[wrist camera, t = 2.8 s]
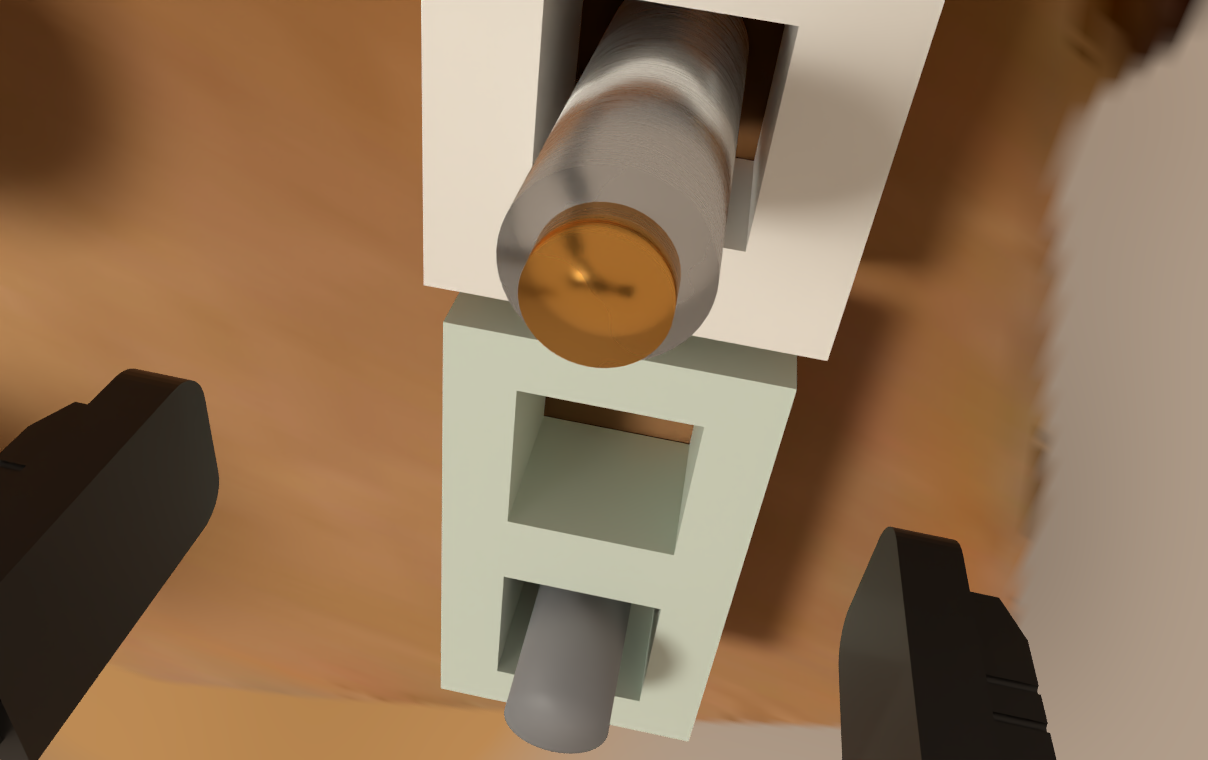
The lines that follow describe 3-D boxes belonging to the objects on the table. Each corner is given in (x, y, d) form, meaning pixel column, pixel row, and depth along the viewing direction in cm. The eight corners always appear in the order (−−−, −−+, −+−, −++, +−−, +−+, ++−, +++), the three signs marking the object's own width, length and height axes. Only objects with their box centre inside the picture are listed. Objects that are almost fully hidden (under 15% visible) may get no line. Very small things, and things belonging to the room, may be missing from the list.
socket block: (491, -210, 21) (419, -183, 17) (941, -141, 20) (976, -97, 16) (478, 196, 27) (423, 285, 23) (823, 258, 26) (827, 360, 22)
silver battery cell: (615, -36, 22) (483, 173, 13) (762, -11, 22) (737, 219, 13) (599, 108, 25) (476, 375, 15) (733, 131, 24) (692, 417, 15)
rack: (494, 229, 27) (403, 394, 21) (797, 285, 27) (796, 471, 21) (478, 581, 37) (413, 765, 31) (700, 627, 37) (680, 824, 30)
